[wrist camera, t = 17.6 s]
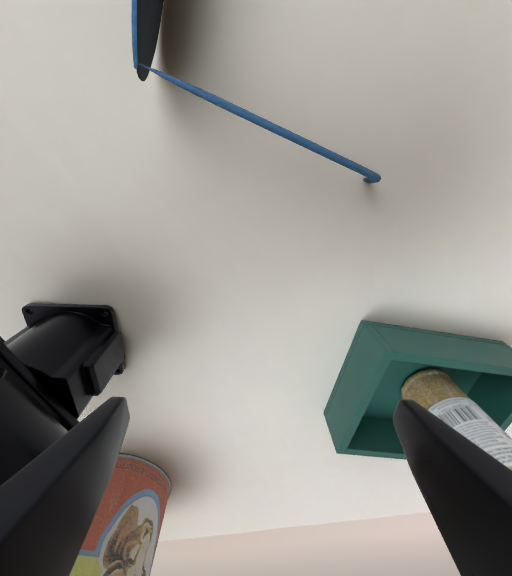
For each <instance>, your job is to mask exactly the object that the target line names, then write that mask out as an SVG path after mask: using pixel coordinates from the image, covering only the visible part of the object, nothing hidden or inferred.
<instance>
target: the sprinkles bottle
mask: <svg viewBox="0 0 512 576" xmlns="http://www.w3.org/2000/svg"><path fill="white" fill-rule="evenodd" d="M401 395H402V398H403V399H411V400H414V401H416V402H417V403H418V404H420V405H421V406H423V407H424V408H425V409H427V410H428V411H430V412H431V413H432V414H434V415H435V416H437V417H438V418H439V419H441V420H442V421H444V422H445V423H446V424H448V425H449V426H451V427H452V428H453V429H455V430H456V431H458V432H459V433H460V434H462V435H463V436H465V437H466V438H467V439H469V440H470V441H472V442H473V443H474V444H476V445H477V446H479V447H480V448H481V449H483V450H484V451H486V452H487V453H488V454H490V455H491V456H493V457H494V458H495V459H497V460H498V461H500V462H501V463H502V464H504V465H505V466H507V467H508V468H509V469H511V470H512V439H511V438H510V437H509V436H508V435H507V434H506V433H505V432H504V431H503V430H502V429H501V428H500V427H499V426H498V425H497V424H496V423H495V422H494V421H493V420H492V419H491V418H490V417H489V416H488V415H487V414H486V413H485V412H484V411H483V410H482V409H481V408H480V407H479V406H478V405H477V404H476V403H475V402H474V401H472V400H471V399H470V398H469V397H468V396H467V395H466V394H465V393H464V392H463V391H462V390H461V389H460V388H459V387H458V386H457V385H456V384H455V383H454V382H453V381H452V379H451V378H450V377H449V375H448V374H447V373H445V372H443V371H441V370H438V369H426V370H423V371H419V372H417V373H416V374H414V375H412V376H411V377H409V378H408V379H407V380H406V381H405V383H404V384H403V386H402V388H401Z"/></svg>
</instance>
